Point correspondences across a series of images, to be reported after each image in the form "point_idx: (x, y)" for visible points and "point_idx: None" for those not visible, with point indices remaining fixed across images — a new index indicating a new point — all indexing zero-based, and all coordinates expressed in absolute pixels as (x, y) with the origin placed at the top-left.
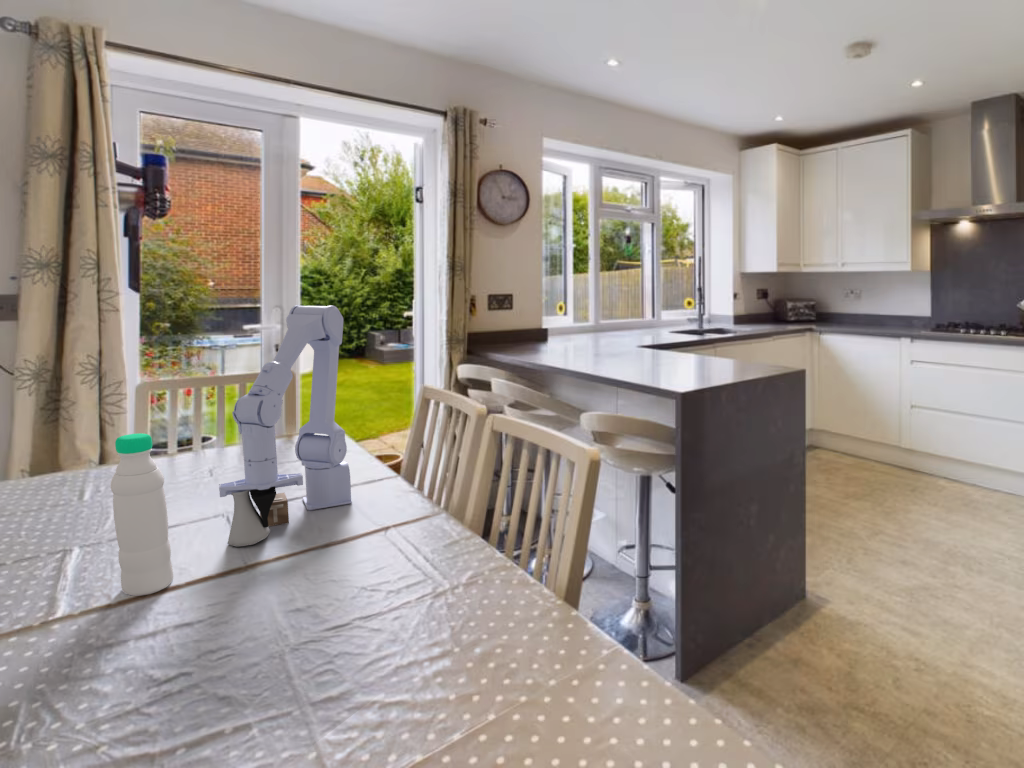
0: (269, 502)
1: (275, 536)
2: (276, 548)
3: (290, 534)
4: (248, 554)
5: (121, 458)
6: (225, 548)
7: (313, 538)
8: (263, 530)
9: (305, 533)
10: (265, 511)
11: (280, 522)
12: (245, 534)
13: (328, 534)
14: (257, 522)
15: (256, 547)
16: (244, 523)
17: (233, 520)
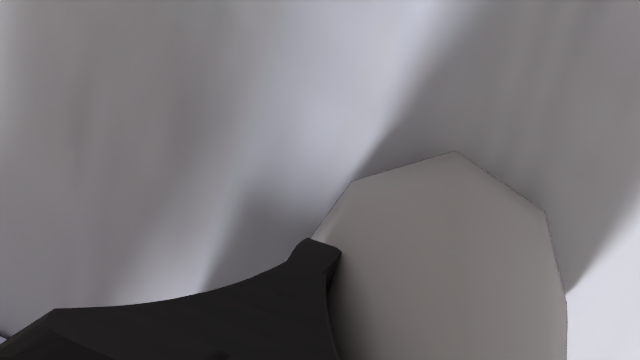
0: (180, 317)
1: (290, 216)
2: (343, 39)
3: (217, 182)
4: (524, 70)
5: None
6: (594, 269)
7: (130, 35)
8: (350, 220)
9: (150, 136)
10: (277, 291)
11: None
12: (495, 224)
13: (55, 33)
14: (376, 267)
15: (435, 144)
16: (498, 292)
17: None
